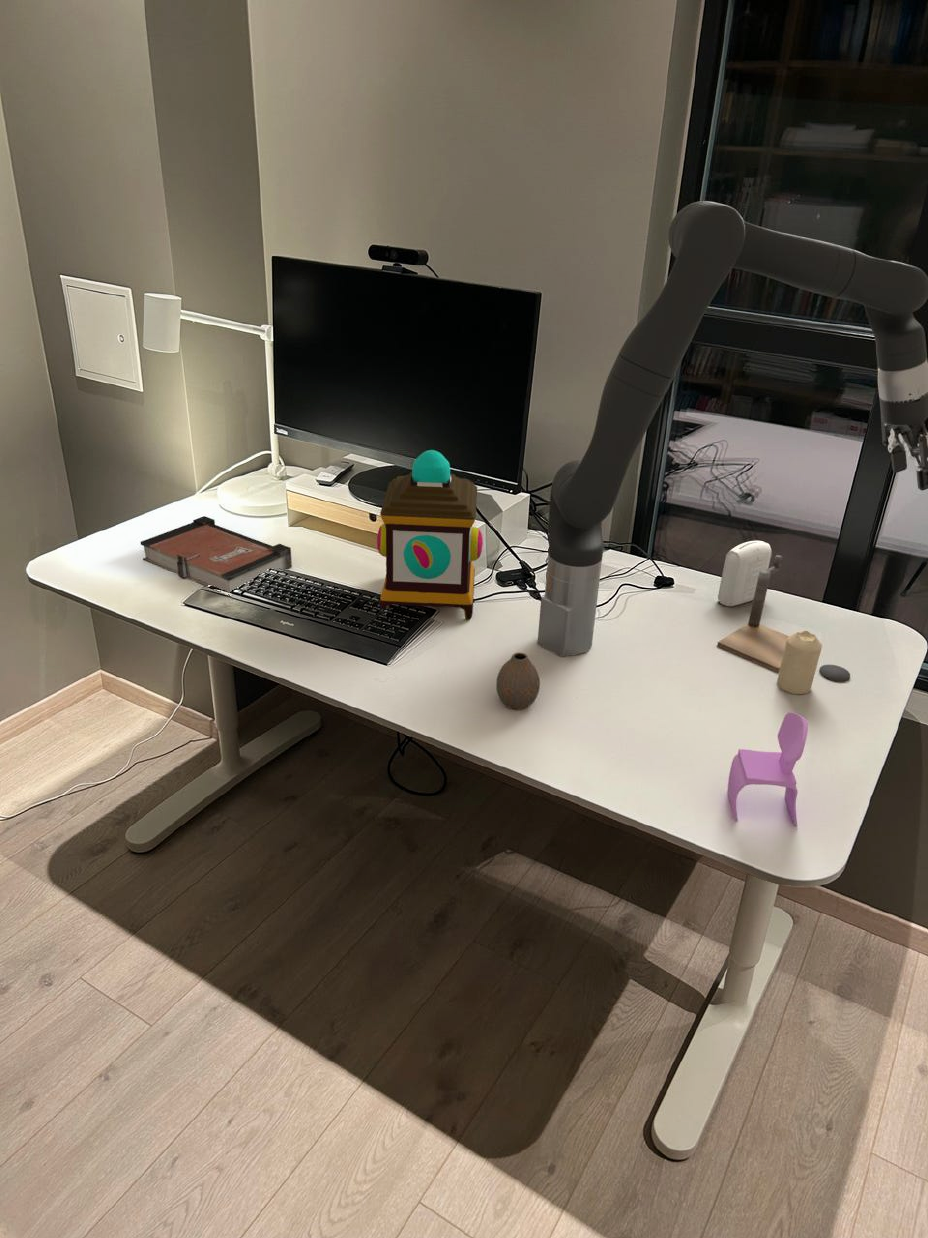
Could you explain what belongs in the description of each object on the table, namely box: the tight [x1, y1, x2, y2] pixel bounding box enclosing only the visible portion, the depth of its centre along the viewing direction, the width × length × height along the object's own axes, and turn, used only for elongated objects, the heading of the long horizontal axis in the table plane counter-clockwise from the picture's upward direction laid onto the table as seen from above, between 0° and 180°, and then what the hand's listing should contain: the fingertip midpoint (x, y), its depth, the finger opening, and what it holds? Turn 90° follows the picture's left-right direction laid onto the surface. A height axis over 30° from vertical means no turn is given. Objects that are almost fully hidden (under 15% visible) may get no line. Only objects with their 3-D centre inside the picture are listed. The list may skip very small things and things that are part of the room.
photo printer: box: [717, 540, 772, 607], centre depth 177 cm, size 10×4×12 cm, turn 123°
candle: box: [776, 630, 823, 695], centre depth 149 cm, size 6×6×10 cm
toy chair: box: [727, 711, 809, 827], centre depth 120 cm, size 8×9×15 cm
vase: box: [495, 652, 541, 710], centre depth 142 cm, size 7×7×9 cm
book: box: [139, 515, 293, 597], centre depth 184 cm, size 26×18×5 cm
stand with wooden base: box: [716, 554, 790, 673], centre depth 161 cm, size 16×12×14 cm
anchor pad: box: [818, 664, 851, 683], centre depth 156 cm, size 5×5×1 cm
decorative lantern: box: [376, 449, 484, 621], centre depth 168 cm, size 20×20×30 cm
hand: (912, 479), depth 152 cm, fingers open, 8 cm apart
